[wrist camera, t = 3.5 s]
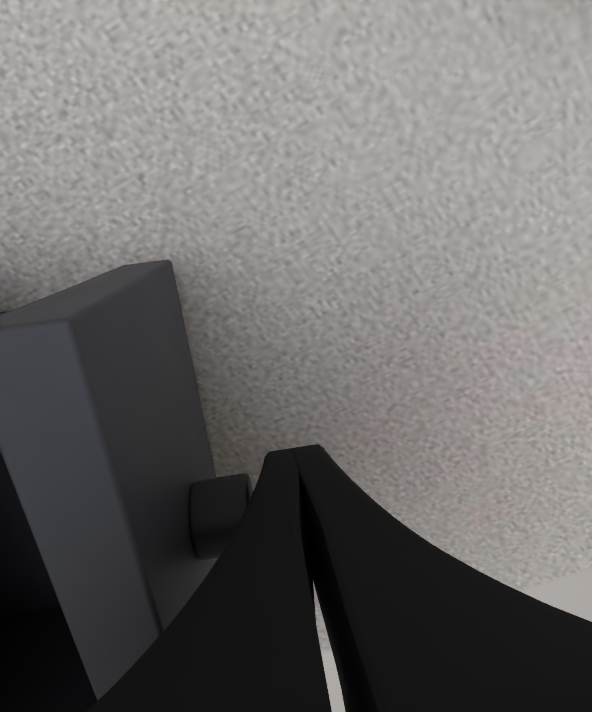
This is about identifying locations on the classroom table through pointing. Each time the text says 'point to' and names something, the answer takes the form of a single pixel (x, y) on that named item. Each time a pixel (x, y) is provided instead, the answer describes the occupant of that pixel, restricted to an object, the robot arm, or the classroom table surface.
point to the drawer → (100, 485)
